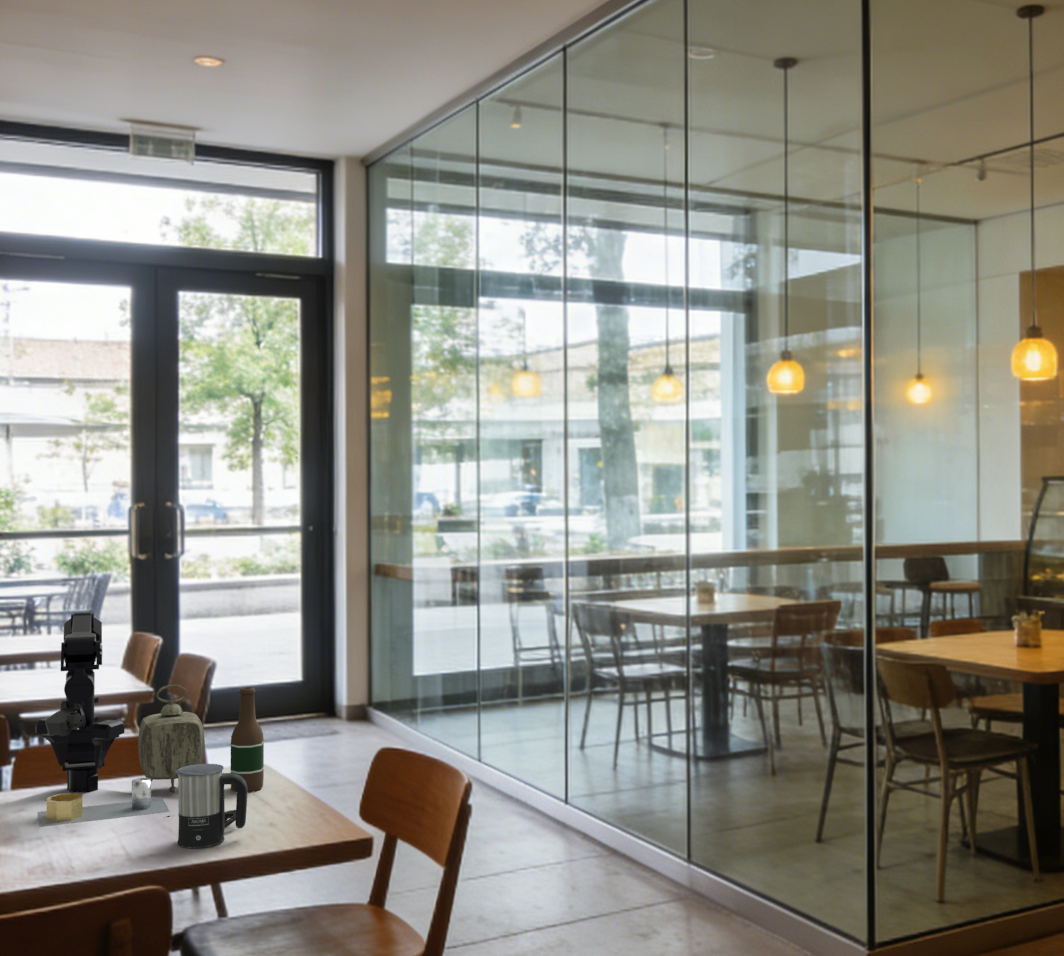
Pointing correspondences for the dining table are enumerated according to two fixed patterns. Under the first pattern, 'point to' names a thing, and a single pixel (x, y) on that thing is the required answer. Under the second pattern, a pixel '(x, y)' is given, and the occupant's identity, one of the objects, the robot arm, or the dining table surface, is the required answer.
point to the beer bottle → (248, 744)
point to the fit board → (117, 806)
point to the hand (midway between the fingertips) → (79, 767)
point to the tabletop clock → (170, 741)
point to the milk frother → (207, 804)
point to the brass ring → (64, 807)
